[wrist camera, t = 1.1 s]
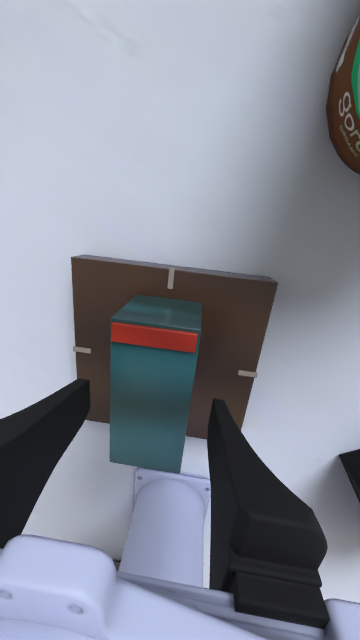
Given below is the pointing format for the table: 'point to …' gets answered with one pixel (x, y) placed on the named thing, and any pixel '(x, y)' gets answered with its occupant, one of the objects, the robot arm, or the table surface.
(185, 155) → the table surface
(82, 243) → the table surface
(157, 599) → the robot arm
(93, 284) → the clock
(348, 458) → the digital camera
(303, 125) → the table surface
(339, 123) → the food container
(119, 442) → the teal block red stripe
